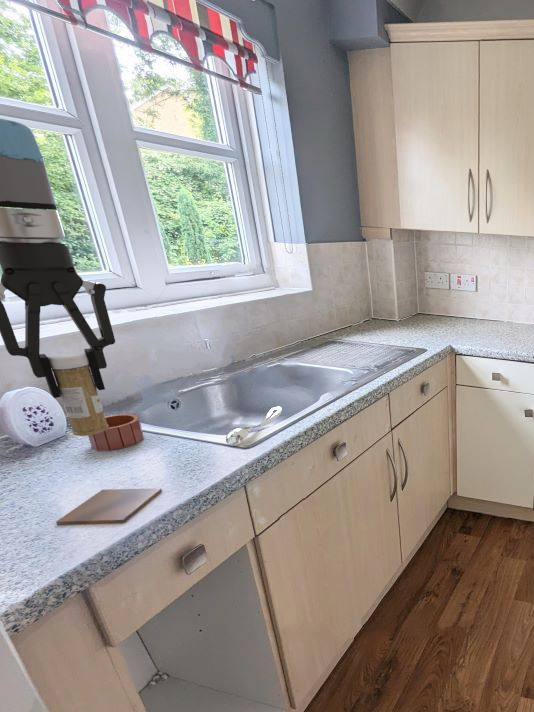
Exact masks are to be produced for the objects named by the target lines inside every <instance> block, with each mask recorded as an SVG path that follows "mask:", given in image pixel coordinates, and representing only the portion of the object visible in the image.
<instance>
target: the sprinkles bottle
mask: <svg viewBox="0 0 534 712" xmlns="http://www.w3.org/2000/svg"><path fill="white" fill-rule="evenodd" d="M47 357H48V360H49V363H50V366H51V369H52V372H53V375H54V378H55V381H56V384H57V387H58V390H59V393H60V396H61V397H60V399H61V401H62V405H63V408H64V410H65V414H66V416H67V418H68V420H69V423H70V427H71V429H72V430H71V431H72V435H74V436H77V437H88V435H94V434H98V433H101V432H103V431H105V430H107V429H108V427H109V426H108V424H107V422H106V419H105V417H106V416H105V412H104V408H103V405H102V402H101V399H100V395H99V393H98V389H97V388H96V386H95V384H94V381H93V377H92V374H91V371H90V367H89V363H90V362H89V359H88V356H87V354H86V353H85V351H64V352H63V351H62V352H58V353H53V354H50V355H48V356H47Z"/></svg>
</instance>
